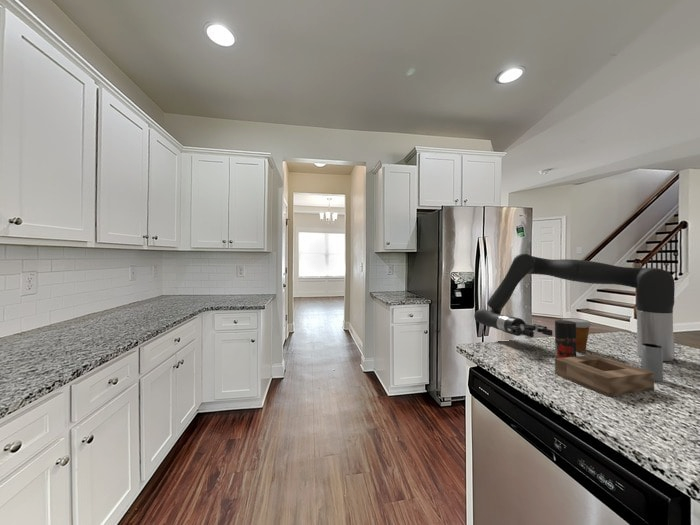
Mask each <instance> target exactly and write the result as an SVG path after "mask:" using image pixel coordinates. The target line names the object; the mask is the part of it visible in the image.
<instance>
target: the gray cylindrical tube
mask: <svg viewBox="0 0 700 525" xmlns="http://www.w3.org/2000/svg"><path fill="white" fill-rule="evenodd" d="M640 358H641V369H644V370H647V371H650V372H654V382H656V383H657V382H663V381H664V361H663V347H662V346H660V345H655V344H648V343H643V344H641V356H640Z"/></svg>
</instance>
